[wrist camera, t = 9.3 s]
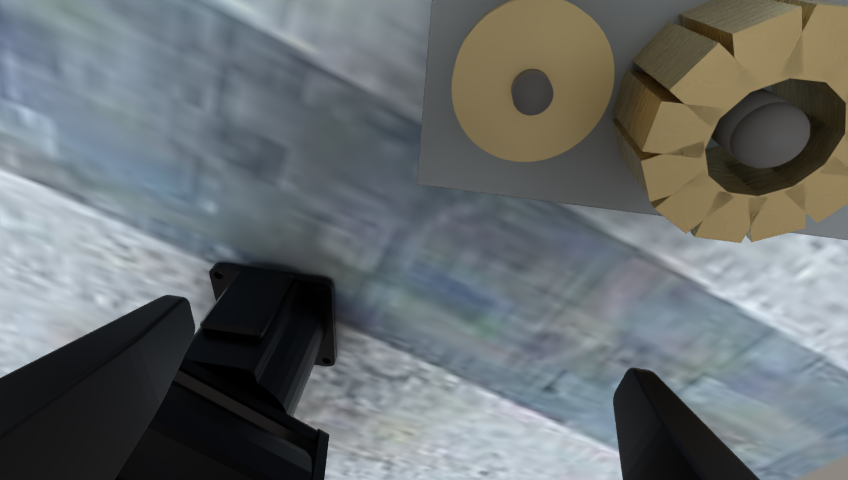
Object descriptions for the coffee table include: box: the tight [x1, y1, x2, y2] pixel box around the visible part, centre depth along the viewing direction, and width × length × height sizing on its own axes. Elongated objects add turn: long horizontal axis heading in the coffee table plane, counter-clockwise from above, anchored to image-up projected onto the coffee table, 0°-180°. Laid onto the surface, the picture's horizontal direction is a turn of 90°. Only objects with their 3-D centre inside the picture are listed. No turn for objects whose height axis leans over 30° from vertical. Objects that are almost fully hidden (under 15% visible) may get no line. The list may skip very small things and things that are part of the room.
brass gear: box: [612, 0, 848, 243], centre depth 13 cm, size 6×6×4 cm
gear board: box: [417, 0, 848, 240], centre depth 14 cm, size 9×20×6 cm, turn 85°
